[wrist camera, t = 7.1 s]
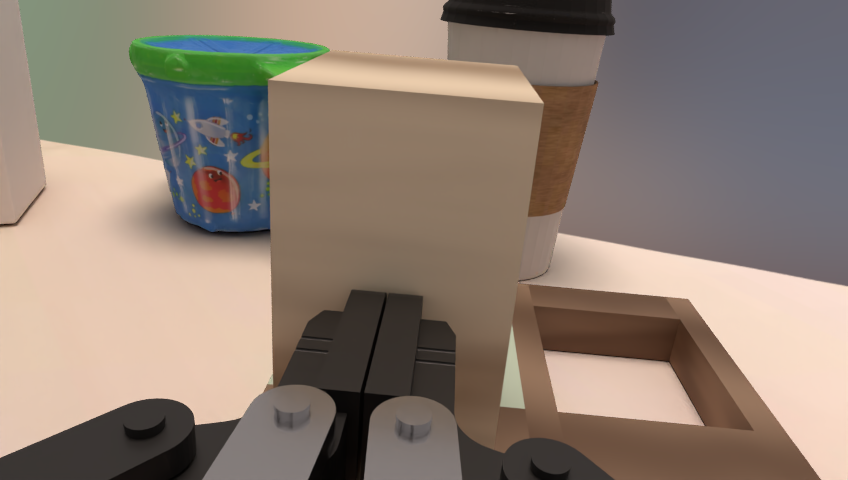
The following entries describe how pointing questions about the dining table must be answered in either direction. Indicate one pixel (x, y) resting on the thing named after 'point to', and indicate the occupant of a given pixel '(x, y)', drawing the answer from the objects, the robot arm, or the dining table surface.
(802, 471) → the brown wooden flat frame
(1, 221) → the milk carton
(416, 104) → the maple block
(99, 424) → the robot arm
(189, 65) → the snack cup
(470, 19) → the coffee cup
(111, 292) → the dining table surface
